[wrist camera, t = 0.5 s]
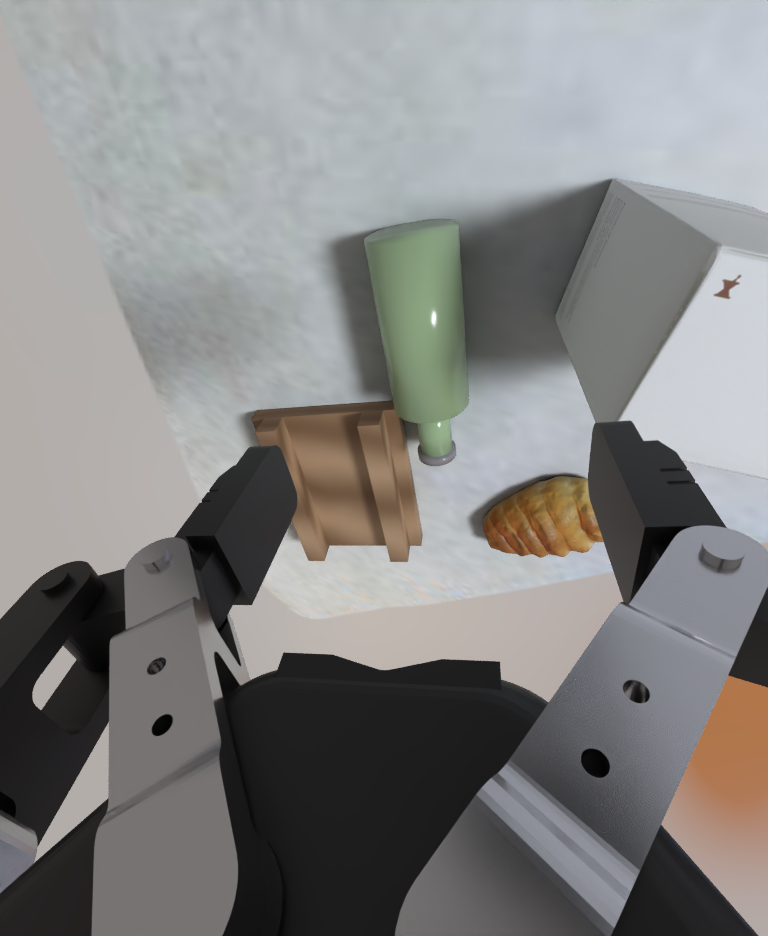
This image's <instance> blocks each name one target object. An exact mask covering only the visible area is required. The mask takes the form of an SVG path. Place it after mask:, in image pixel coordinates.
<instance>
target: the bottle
mask: <svg viewBox="0 0 768 936" xmlns="http://www.w3.org/2000/svg"><path fill="white" fill-rule="evenodd" d="M364 244H365V250H366V256H367V261H368V267H369V272H370V278H371V283H372V289H373V294H374V300H375V305H376V311H377V317H378V322H379V328H380V333H381V339H382V344H383V350H384V355H385V361H386V366H387V372H388V378H389V383H390V389H391V394H392V400H393V405H394V410H395V413H396V414H397V415H398V416H399V417H400V418H402V419H404V420H406V421H409V422H413V423H417V428H418V435H419V442H420V444H419V446H418V455H419V459H420V461H421V462H422V463H424V464H426V465H430V466H441V465H445V464H447V463H449V462H451V461H452V460H453V459H454V458H455V456H456V447H455V443H454V441H453V440H452V435H451V424H450V418H453V417H455V416H457V415H458V414H460V413H461V412H462V411H464V409H465V408H466V407H467V405H468V403H469V390H468V373H467V356H466V339H465V323H464V306H463V289H462V272H461V255H460V239H459V223H458V222H457V221H455V220H450V219H430V220H422V221H416V222H410V223H404V224H399V225H395V226H391V227H388V228H385V229H382V230H379V231H376V232H374V233H372V234H370V235H368V236H367V237H366V238H365V239H364Z"/></svg>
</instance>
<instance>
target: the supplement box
mask: <svg viewBox="0 0 768 936" xmlns="http://www.w3.org/2000/svg"><path fill="white" fill-rule="evenodd" d="M555 321H556V323H557V326H558V328H559V331H560V334H561V336H562V339H563V341H564V343H565V346H566V349H567V351H568V353H569V356H570V359H571V361H572V364H573V366H574V369H575V371H576V374H577V376H578V379H579V382H580V384H581V387H582V389H583V392H584V394H585V397H586V399H587V402H588V404H589V407H590V409H591V412H592V414H593V417H594V419H595V422H596V423H601V422H615V421H629V420H630V421H632V422H633V424H634V425H635V427H636V429H637V430H638V432H639V434H640V436H641V437H642V439H643V441H652V440H658V441H660V442H661V443H663V444H664V445H666V446H668V447H669V448H671V449H672V450H674V451H675V452H677V454H678V455H679V457H680V458H681V460H682V461H684V462H689V463H694V464H698V465H703V466H708V467H713V468H717V469H722V470H727V471H731V472H736V473H740V474H745V475H749V476H754V477H758V478H763V479H768V213H765V212H763V211H761V210H758V209H756V208H753V207H749V206H745V205H741V204H737V203H733V202H729V201H724V200H720V199H715V198H711V197H707V196H702V195H698V194H693V193H689V192H683V191H678V190H673V189H668V188H663V187H658V186H652V185H647V184H642V183H637V182H632V181H626V180H621V179H617V178H615V179H613V180H612V182H611V184H610V186H609V189H608V191H607V193H606V196H605V198H604V201H603V203H602V205H601V207H600V210H599V212H598V215H597V217H596V220H595V222H594V224H593V227H592V229H591V231H590V234H589V236H588V238H587V241H586V243H585V246H584V248H583V250H582V253H581V255H580V257H579V260H578V262H577V264H576V267H575V269H574V272H573V274H572V277H571V279H570V281H569V283H568V286H567V288H566V291H565V294H564V296H563V298H562V300H561V303H560V305H559V308H558V310H557V312H556V315H555Z"/></svg>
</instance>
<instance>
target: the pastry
mask: <svg viewBox="0 0 768 936" xmlns="http://www.w3.org/2000/svg"><path fill="white" fill-rule="evenodd" d="M483 528H484V533H485V535H486V537H487V540H488V543H489V545H490V547H491V548H494V549H497V550H500V551H502V552H505V553H513V554H518V555H520V556H525V555H529V554H534V555H536V556H538V557H544V556H546V555H548V554H551V555H557V556H560V557H564V556H566V555H567V554H568V553H569V552H570V551H577V552H581V553H584V552H587V551H589V549H590V548H591V547H592V545H593V544H594V543H595V542H604V541H603V538H602V535H601V532H600V529H599V526H598V523H597V520H596V517H595V514H594V511H593V508H592V505H591V502H590V498H589V491H588V479H585V478H576V477H569V476H555V477H554V478H552V479H550V480H546V481H539V482H537V483H535V484H533V485H530V486H528V487H526V488H525V489H523V490H520V491H518V492H517V493H515V494H514V495H512V496H510V497H508V498H506V499H505V500H503V501H501V502H500V503H498V504H496V505H495V506H494V507H493V508H492V509H491V510H490V511H489V512H488V513H487V514H486V516H485V518H484V521H483Z"/></svg>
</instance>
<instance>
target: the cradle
mask: <svg viewBox="0 0 768 936" xmlns="http://www.w3.org/2000/svg"><path fill="white" fill-rule="evenodd" d="M252 422H253V424H254V426H255V429H256V431H255V434H256V436H257V439H258V441H259V443H260V446H270V445H277V446H279V447H280V449H281V450H282V452H283V455H284V458H285V460H286V463H287V466H288V469H289V471H290V474H291V477H292V479H293V482H294V485H295V488H296V491H297V508H296V512H295V514H294V516H293V518H292V522H293V525H294V527H295V529H296V532H297V534H298V536H299V539H300V541H301V544H302V546H303V548H304V551H305V553H306V556H307V558H308V560H309V561H325V558H326V554H327V551H328V548H329V545H387V549H388V553H389V557H390V561H391V562H408V556H409V549H410V546H421V543H422V530H421V524H420V518H419V512H418V506H417V500H416V495H415V489H414V483H413V477H412V471H411V465H410V459H409V453H408V447H407V441H406V436H405V430H404V424H403V419H402V418H400V417H399V416H398V415H397V414H396V413H395V410H394V405H393V401H383V402H369V403H355V404H341V405H326V406H312V407H298V408H284V409H270V410H257V412H256V413H255V415H254V416H253V418H252Z"/></svg>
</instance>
